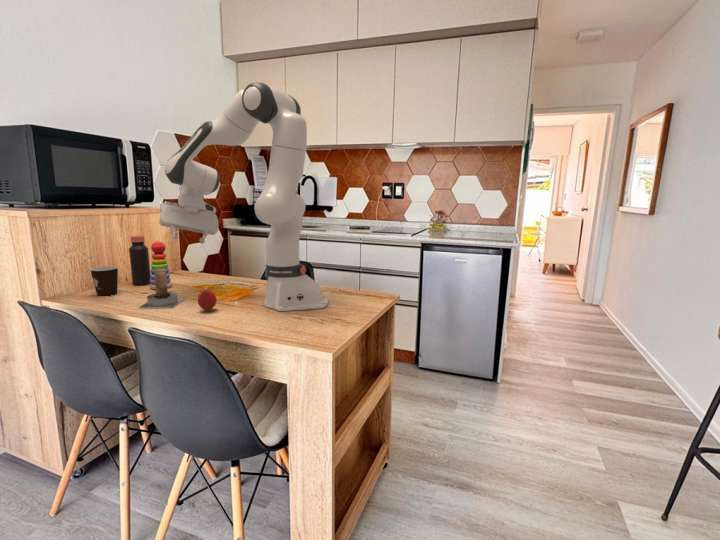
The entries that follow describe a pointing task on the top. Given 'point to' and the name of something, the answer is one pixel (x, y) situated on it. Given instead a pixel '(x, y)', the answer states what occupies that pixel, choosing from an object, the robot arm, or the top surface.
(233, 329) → the top surface
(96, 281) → the coffee mug
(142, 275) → the bottle
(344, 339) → the top surface
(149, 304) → the collar
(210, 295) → the onion
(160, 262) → the stacking toy
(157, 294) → the dowel
